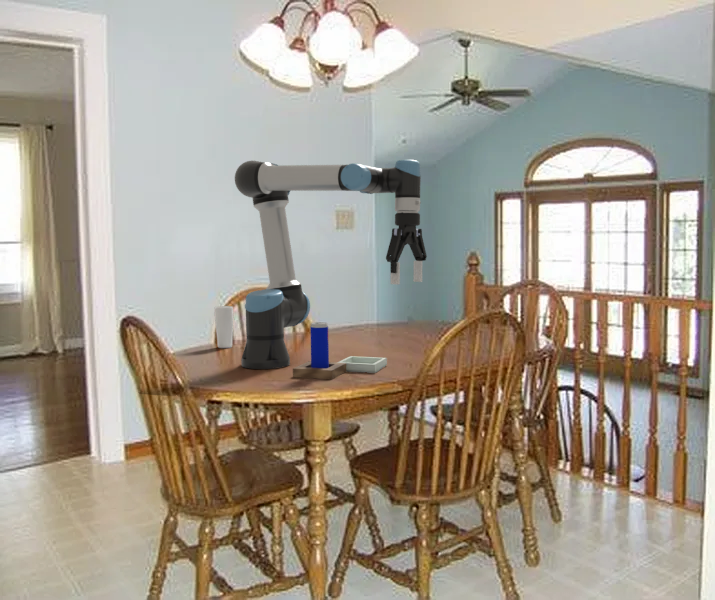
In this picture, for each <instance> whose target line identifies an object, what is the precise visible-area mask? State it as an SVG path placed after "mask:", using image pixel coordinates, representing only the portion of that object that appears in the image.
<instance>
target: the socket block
mask: <svg viewBox="0 0 715 600" xmlns="http://www.w3.org/2000/svg"><path fill="white" fill-rule="evenodd" d="M346 372H347V371H346V363H337V362H334V361H333V362H332V361H331V362H330V361H329V368H311V360H310V361H309V360H308V361H307V362H304V363H302V364H300V365H298V366H295V367H293V368H292V377H293V378H305V379H321V380H334V379H335V378H337V377H339V376H341V375H342V374H344V373H346Z"/></svg>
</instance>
